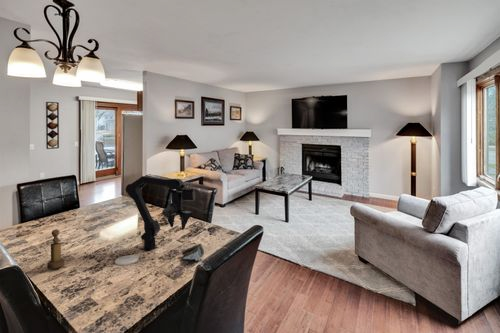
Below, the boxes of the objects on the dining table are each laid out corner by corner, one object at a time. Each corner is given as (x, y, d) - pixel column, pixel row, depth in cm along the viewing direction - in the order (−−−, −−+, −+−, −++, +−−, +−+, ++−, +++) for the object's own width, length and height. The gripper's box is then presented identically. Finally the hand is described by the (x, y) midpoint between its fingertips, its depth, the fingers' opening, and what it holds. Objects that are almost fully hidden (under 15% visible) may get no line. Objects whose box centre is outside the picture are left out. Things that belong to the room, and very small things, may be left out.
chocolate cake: (176, 261, 126) (193, 246, 124) (180, 252, 133) (195, 238, 131) (190, 272, 128) (207, 258, 126) (193, 263, 135) (208, 250, 133)
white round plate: (110, 262, 126) (110, 260, 126) (131, 255, 135) (131, 253, 135) (122, 267, 120) (122, 264, 120) (143, 259, 129) (143, 257, 129)
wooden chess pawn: (67, 263, 125) (67, 227, 125) (58, 268, 118) (57, 231, 118) (54, 263, 125) (53, 228, 125) (43, 269, 118) (43, 231, 118)
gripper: (153, 201, 139) (154, 229, 139) (176, 204, 129) (177, 234, 129) (170, 199, 148) (170, 225, 149) (192, 201, 138) (193, 229, 139)
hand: (177, 228), depth 141 cm, fingers open, 9 cm apart
